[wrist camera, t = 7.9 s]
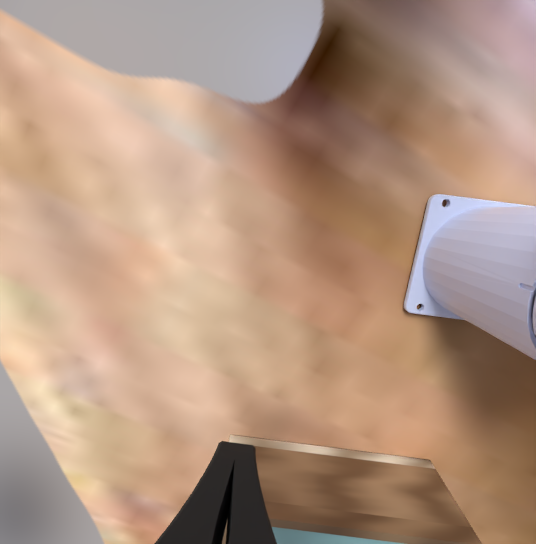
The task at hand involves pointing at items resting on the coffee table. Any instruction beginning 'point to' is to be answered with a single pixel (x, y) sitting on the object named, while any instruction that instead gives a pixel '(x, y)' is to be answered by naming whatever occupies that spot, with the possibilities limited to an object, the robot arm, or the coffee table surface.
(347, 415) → the coffee table surface
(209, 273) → the coffee table surface
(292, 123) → the coffee table surface
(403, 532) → the box
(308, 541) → the lid
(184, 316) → the coffee table surface
